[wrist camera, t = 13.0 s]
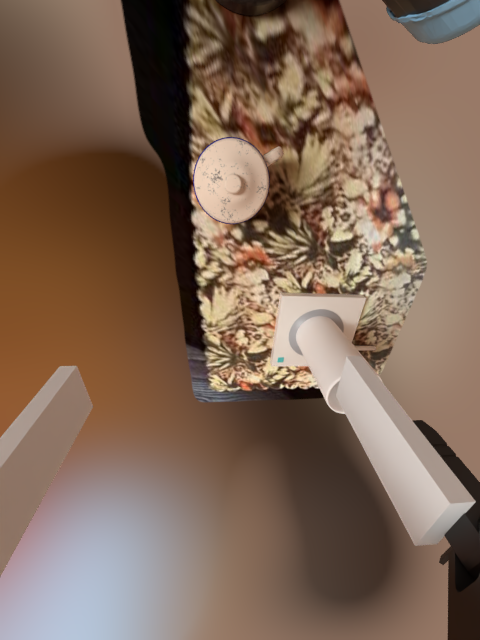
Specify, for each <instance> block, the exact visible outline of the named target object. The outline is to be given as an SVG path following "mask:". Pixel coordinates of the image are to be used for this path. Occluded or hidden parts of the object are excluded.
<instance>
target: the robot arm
mask: <svg viewBox="0 0 480 640" xmlns="http://www.w3.org/2000/svg"><path fill="white" fill-rule="evenodd" d="M216 1H217V2H218V3H220V4H221V5H222V6H224V7H225V8H227V9H229V10H231V11H233V12H235V13H238V14H242V15H261V14H265V13H267V12H270V11H272V10H274V9H276V8H277V7H279V6H280V5H282V4H283V3H284V2H285V1H286V0H216ZM382 1H383V2H384V3H385V4H386V5H387V8H386V9H387V13H388V15H389V16H390V17H391V19H393V20H395V21H397V22H398V23H401V24H402V25H403V26H404V27H405V28H406V29H407V30H408V31H409V32H410V33H411V34H412V35H413V36H414V37H415V38H416V39H417V40H418V41H420V42H425V43H428V44H431V43H432V44H438V43H443V42H446V41H449V40H452V39H454V38H456V37H459V36H461V35H463V34H465V33H466V32H468V31H470V30H472V29H473V28H475V27H477V26H478V25H480V0H382ZM336 397H337V399H338V401H339V402H340V404H341V406H342V408H343V410H344V412H345V414H346V416H347V418H348V419H349V421H350V423H351V425H352V427H353V429H354V431H355V433H356V435H357V436H358V438H359V440H360V442H361V444H362V446H363V448H364V450H365V452H366V454H367V455H368V457H369V459H370V461H371V463H372V465H373V467H374V469H375V471H376V472H377V474H378V476H379V478H380V480H381V482H382V484H383V486H384V487H385V490H386V491H387V493H388V495H389V497H390V499H391V501H392V503H393V504H394V507H395V508H396V510H397V512H398V514H399V516H400V518H401V520H402V522H403V524H404V526H405V527H406V529H407V531H408V533H409V535H410V537H411V538H412V541H413V542H414V544H415V546H419V545H430V544H437V543H438V542H439V541H440V540H441V539H442V538H443V537H444V536H445V537H446V539H447V540H448V542H449V543H450V545H451V547H450V548H449V549H448V550H447V551H446V552H445V553H444V554H443V555H442V556H441V558H440V561H439V563H441V564H443V565H444V564H445V563H446V562H447V561H448V560H449V569H448V572H449V573H448V640H480V482H479V481H478V480H477V479H476V478H475V476H474V475H473V474H472V473H471V472H470V470H469V469H468V468H467V467H466V466H465V465H464V464H463V462H462V461H461V460H460V459H459V458H458V457H456V454H455V453H454V452H453V450H452V449H451V448H450V447H449V446H447V443H446V442H445V441H444V440H443V439H442V437H441V436H440V435H439V434H438V433H437V432H436V431H435V430H434V429H433V428H432V427H430V426H429V425H428V424H426V423H425V422H423V421H422V420H416V421H412V420H411V418H410V417H409V416H408V415H407V413H406V412H405V411H404V410H403V408H402V407H401V406H400V405H399V403H398V402H397V401H396V400H395V398H394V397H393V395H392V394H391V393H390V392H389V390H388V389H387V388H386V387H385V385H384V384H383V383H382V381H381V380H380V379H379V378H378V376H377V375H376V374H375V373H374V371H373V370H372V369H371V367H370V366H369V365H368V364H367V362H366V361H365V360H364V359H363V357H362V356H347V357H346V361H345V364H344V368H343V372H342V375H341V379H340V382H339V386H338V390H337V393H336ZM92 408H93V405H92V403H91V401H90V398H89V395H88V393H87V390H86V388H85V386H84V383H83V380H82V378H81V375H80V373H79V370H78V368H77V366H61V367H59V368H58V369H57V371H56V372H55V373H54V374H53V375H52V377H51V378H50V379H49V380H48V381H47V383H46V384H45V385H44V386H43V387H42V389H41V390H40V391H39V392H38V394H37V395H36V396H35V397H34V398H33V399H32V401H31V402H30V403H29V404H28V405H27V407H26V408H25V409H24V410H23V411H22V413H21V414H20V415H19V416H18V417H17V418H16V420H15V421H14V422H13V423H12V424H11V426H10V427H9V428H8V430H6V432H5V433H4V434H3V435H2V437H1V438H0V576H1V574H2V572H3V571H4V569H5V567H6V565H7V563H8V561H9V560H10V557H11V556H12V554H13V552H14V550H15V549H16V547H17V545H18V543H19V541H20V540H21V538H22V536H23V534H24V532H25V530H26V528H27V527H28V525H29V523H30V521H31V519H32V517H33V516H34V514H35V512H36V510H37V508H38V507H39V505H40V503H41V501H42V499H43V497H44V496H45V494H46V492H47V490H48V488H49V486H50V484H51V483H52V481H53V479H54V477H55V475H56V473H57V472H58V470H59V468H60V466H61V464H62V462H63V461H64V459H65V457H66V455H67V453H68V451H69V450H70V448H71V446H72V444H73V442H74V441H75V439H76V437H77V435H78V433H79V431H80V430H81V428H82V426H83V424H84V422H85V420H86V419H87V417H88V415H89V413H90V411H91V409H92Z"/></svg>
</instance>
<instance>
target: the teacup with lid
mask: <svg viewBox="0 0 480 640" xmlns="http://www.w3.org/2000/svg"><path fill="white" fill-rule="evenodd" d="M282 156H283V151H282V148H281V147H276V148H275V149H273V150H271V151H270V152H268V153H267V154H265V155H263V156H262V154H261V153H260V152H259V151H258V149H257V148H256V147H254V146H253V145H252V144H251V143H249V142H247V141H245V140H243V139H240V138H235V137H226V138H222V139H218V140H216V141H214V142H213V143H211V144H210V145H208V146H207V147H206V148H205V149H204V151H203V152H202V153H201V155H200V156H199V158H198V160H197V162H196V165H195V169H194V175H193V185H194V191H195V195H196V198H197V200H198V202H199V204H200V206H201V207H202V208H203V210H204V211H205V212H206V213H207V214H208V215H209V216H210V217H212V218H213V219H215V220H217V221H219V222H222V223H226V224H238V223H242V222H245V221H247V220H249V219H251V218H252V217H253V216H255V215H256V214H257V213H258V212H259V210H260V209H261V208H262V206H263V205H264V203H265V201H266V198H267V195H268V191H269V183H270V182H269V171H268V166H270V165H271V164H273V163H274V162H276V161H277V160H279V159H280V158H282Z"/></svg>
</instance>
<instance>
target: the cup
mask: <svg viewBox="0 0 480 640" xmlns="http://www.w3.org/2000/svg"><path fill="white" fill-rule="evenodd" d="M296 341H297V344H298V346H299V348H300V350H301V352H302V354H303V356H304V358H305V360H306V362H307V364H308V366H309V368H310V370H311V372H312V374H313V376H314V378H315V380H316V382H317V384H318V386H319V388H320V390H321V392H322V394H323V396H324V398H325V400H326V402H327V404H328V405H329V407H330V408H331V409H332V410H333V411H335V412H338V413H342V414H345V412H344V410H343V408H342V406H341V404H340V402H339V401H338V399H337V397H336V393H337V390H338V386H339V382H340V379H341V375H342V372H343V368H344V364H345V361H346V357H347V356H362V355H361V354H360V352H359V351H358V350H357V349H356V348H355V346H354V345H353V344H352V343H351V342H350V340H349V339H348V338H347V337H346V336H345V334H344V333H343V332H342V331H341V330H340V328H339V327H338V326H337V325H336V324H335V322H334V321H333V320H332V319H330V318H328V317H325V316H316V317H312V318H310V319H308V320H306V321H305V322H303V323H302V324H301V326H300V327H299V328H298V330H297V333H296ZM362 357H363V356H362ZM363 359H364V360H365V358H364V357H363ZM365 361H366V360H365ZM366 362H367V361H366ZM367 364H368V365H369V366H370V364H369V363H368V362H367ZM370 367H371V366H370ZM371 369H372V370H373V371H374V373H375V374H376V375H377V376H378V378H379V379H380V380H381V378H380V377H379V375H378V374H377V373H376V372H375V370H374V369H373V368H372V367H371ZM381 381H382V380H381ZM382 383H383V382H382Z"/></svg>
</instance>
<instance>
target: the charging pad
mask: <svg viewBox="0 0 480 640" xmlns="http://www.w3.org/2000/svg"><path fill="white" fill-rule="evenodd" d="M365 301H366V297H364V296H363V295H351V294H313V293H280V298H279V305H278V312H277V319H276V326H275V332H274V339H273V346H272V353H271V360H270V363H271V366H308V364H307V362H306V360H305V358H304V356H303V354H302V352H301V350H300V348H299V346H298V344H297V341H296V333H297V330H298V328H299V327H300V326H301V324H302V323H303V322H305V321H306V320H308V319H310V318H312V317H316V316H325V317H328V318H330V319H332V320H333V321H334V322H335V324H336V325H337V326H338V327H339V328H340V330H341V331H342V332H343V333H344V334H345V336H346V337H347V338H348V339H349V340H350V342H351V343H352V340H353V337H354V334H355V331H356V328H357V325H358V322H359V319H360V316H361V313H362V310H363V307H364V304H365ZM355 348H356V349H357V350H376V347H375V346H355Z"/></svg>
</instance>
